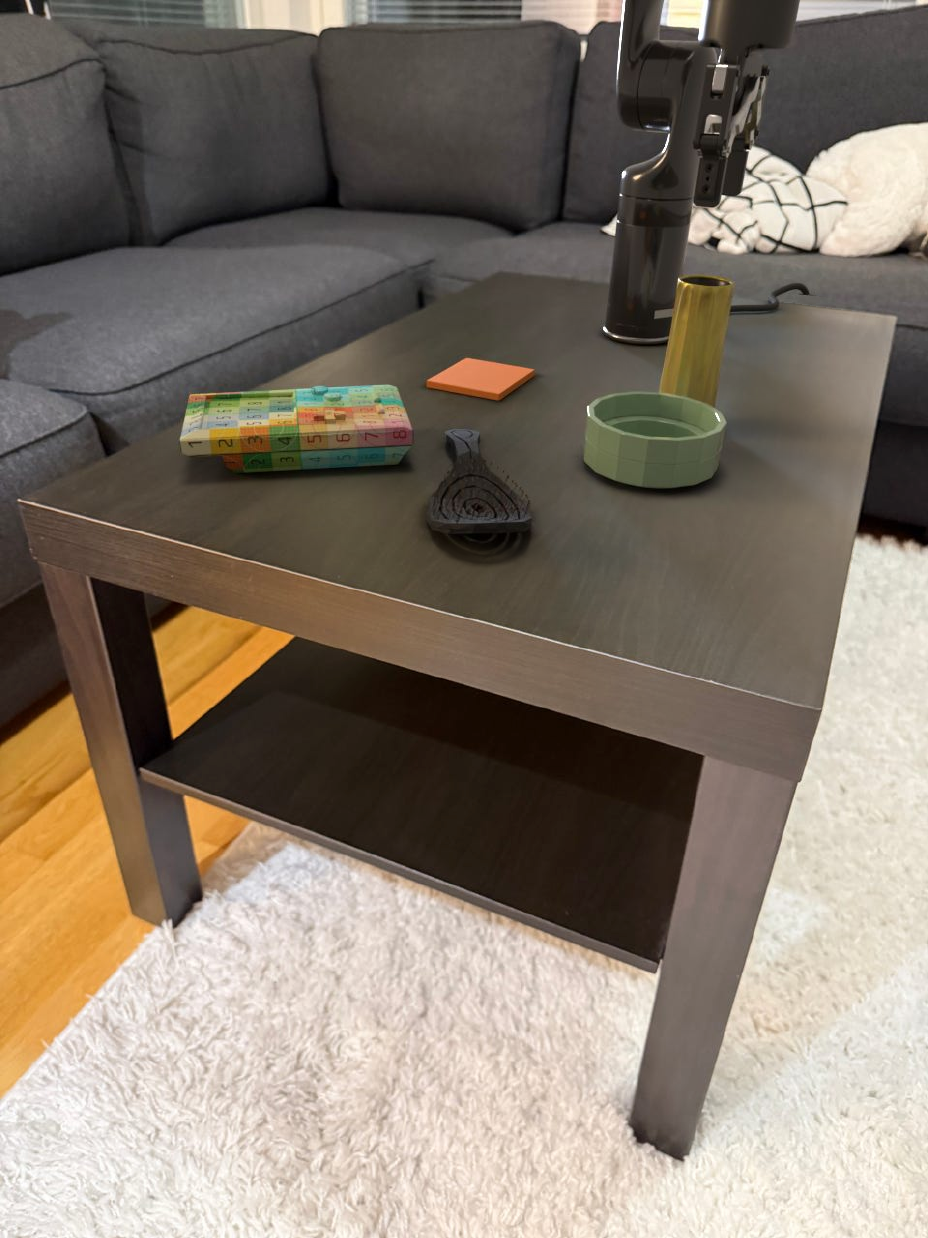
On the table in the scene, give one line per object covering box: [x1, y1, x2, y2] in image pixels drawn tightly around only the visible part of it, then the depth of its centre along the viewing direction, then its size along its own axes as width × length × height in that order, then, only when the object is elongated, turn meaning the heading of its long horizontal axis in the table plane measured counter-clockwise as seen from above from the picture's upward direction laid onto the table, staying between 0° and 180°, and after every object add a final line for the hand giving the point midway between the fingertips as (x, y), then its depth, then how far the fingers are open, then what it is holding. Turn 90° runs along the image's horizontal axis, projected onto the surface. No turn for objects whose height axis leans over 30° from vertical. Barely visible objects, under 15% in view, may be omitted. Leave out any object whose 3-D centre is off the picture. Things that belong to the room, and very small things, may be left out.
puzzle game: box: [178, 384, 414, 474], centre depth 81 cm, size 12×5×20 cm
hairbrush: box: [426, 428, 533, 534], centre depth 75 cm, size 8×4×25 cm
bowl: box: [582, 390, 727, 489], centre depth 79 cm, size 12×12×5 cm
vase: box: [658, 274, 735, 409], centre depth 86 cm, size 6×6×14 cm
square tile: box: [426, 357, 536, 402], centre depth 100 cm, size 10×9×1 cm
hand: (717, 200), depth 78 cm, fingers open, 8 cm apart
